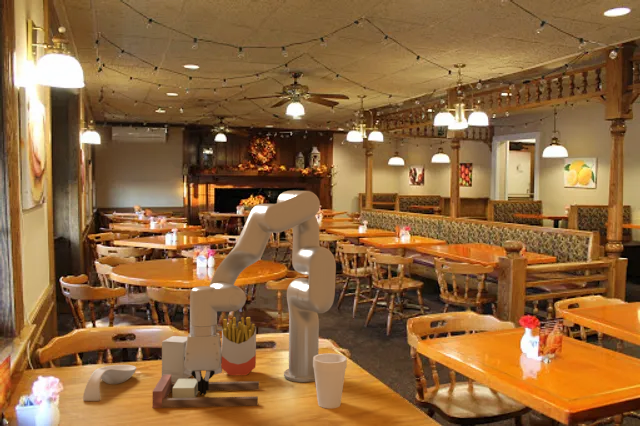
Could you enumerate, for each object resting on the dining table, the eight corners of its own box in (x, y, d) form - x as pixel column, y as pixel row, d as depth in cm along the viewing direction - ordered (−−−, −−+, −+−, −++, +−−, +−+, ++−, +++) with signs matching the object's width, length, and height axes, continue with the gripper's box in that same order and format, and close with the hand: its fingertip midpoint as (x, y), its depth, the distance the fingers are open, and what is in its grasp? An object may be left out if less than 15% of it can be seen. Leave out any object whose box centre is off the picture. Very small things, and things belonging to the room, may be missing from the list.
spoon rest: (105, 374, 178) (105, 352, 177) (141, 375, 177) (141, 353, 177) (71, 402, 154) (71, 376, 154) (112, 402, 154) (112, 377, 154)
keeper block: (198, 391, 163) (198, 378, 163) (193, 401, 155) (194, 387, 155) (178, 392, 163) (178, 378, 162) (172, 402, 155) (172, 388, 154)
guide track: (259, 387, 166) (259, 373, 166) (257, 405, 152) (257, 389, 152) (162, 389, 164) (162, 374, 164) (152, 407, 150) (152, 391, 150)
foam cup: (335, 413, 147) (335, 365, 147) (306, 406, 152) (306, 359, 152) (352, 402, 155) (352, 356, 155) (324, 395, 160) (324, 351, 160)
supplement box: (183, 383, 169) (183, 342, 169) (160, 381, 171) (161, 341, 171) (193, 375, 177) (193, 336, 176) (171, 373, 178) (172, 335, 178)
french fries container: (255, 375, 177) (255, 320, 177) (221, 375, 177) (221, 320, 176) (255, 370, 182) (256, 316, 181) (222, 371, 181) (222, 317, 181)
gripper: (230, 326, 161) (230, 388, 162) (179, 327, 160) (178, 389, 161) (228, 333, 154) (228, 397, 155) (174, 333, 153) (174, 398, 153)
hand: (203, 393), depth 158 cm, fingers closed
